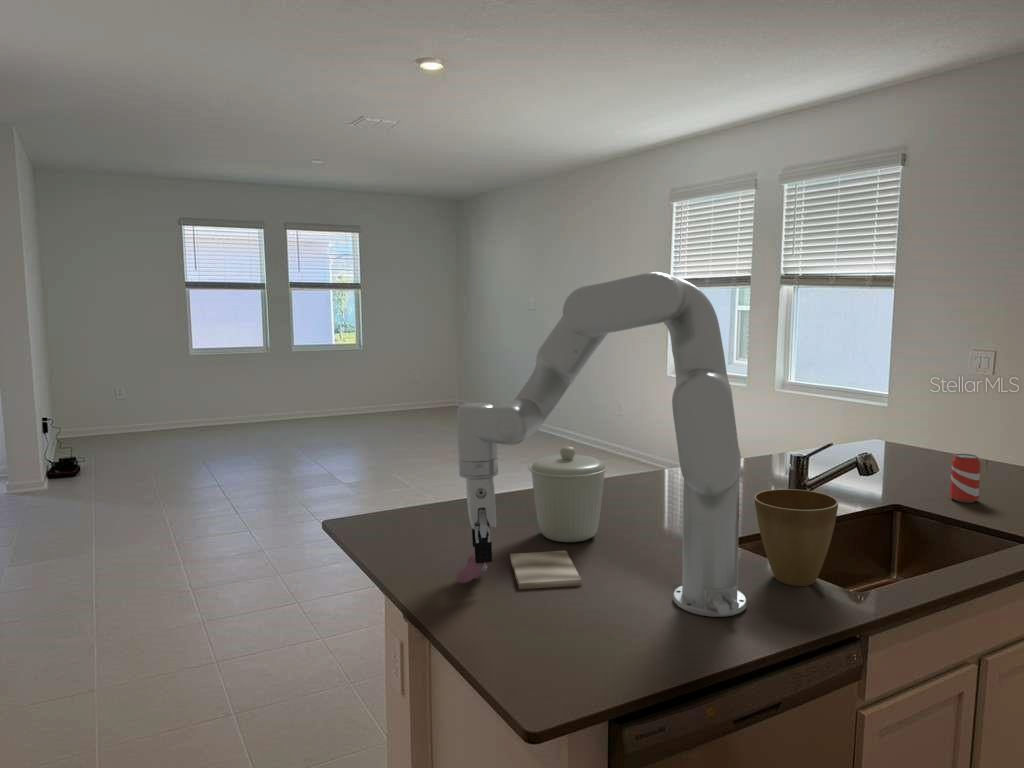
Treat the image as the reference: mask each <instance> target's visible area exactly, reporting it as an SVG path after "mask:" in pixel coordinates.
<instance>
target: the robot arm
mask: <svg viewBox="0 0 1024 768" xmlns="http://www.w3.org/2000/svg"><path fill="white" fill-rule="evenodd" d="M662 323H663V324H664V325H665V326H666V328H667V329H668V332H669V337H670V343H671V352H672V353H671V354H672V356H673V365H674V370H675V372H674V374H675V387H674V390H673V392H672V398H671V400H672V402H671V404H672V405H671V407H672V408H671V409H672V414H673V415H672V416H673V423H674V429H675V439H676V444H677V445H676V446H677V452H678V460H679V467H680V472H681V475H682V478H683V489H682V490H683V492H682V493H683V496H682V497H683V500H682V501H683V502H682V508H683V509H682V513H683V514H682V571H681V572H682V573H681V574H682V575H681V576H682V578H681V579H682V583H681V584H682V585H680V586H678V587H677V588H675V590H673V595H672V596H673V598H672V599H673V601H674V604H676V605H677V606H678V607H679V608H680V609H682V610H684V611H686V612H687V613H688V612H689V613H691V614H695V615H699V616H704V617H712V618H721V617H722V618H723V617H724V618H725V617H730V616H732V617H733V616H735V615H738V614H741V613H743V612H744V610H745V609H746V608H747V602H748V601H747V598H746V596H745V594H743V593H742V592H741V591H740V590H738V588H739V586H738V585H739V584H738V582H739V577H738V576H739V538H740V537H739V531H740V530H739V528H740V527H739V526H740V524H739V523H740V522H739V521H740V487H741V486H740V483H741V481H740V479H741V472H742V471H741V470H742V465H741V464H742V461H741V460H742V459H741V458H742V457H741V450H740V447H739V438H738V432H737V425H736V424H737V423H736V422H737V421H736V415H735V408H734V400H733V391H732V388H731V384H730V381H729V377H728V373H727V365H726V357H725V352H724V351H725V350H724V345H723V342H722V341H723V339H722V334H721V333H722V332H721V328H720V323H719V319H718V316H717V312H716V311H715V308H714V306H713V304H712V303H711V301H710V299H709V298H708V297H707V296H706V293H704V292H703V291H702V290H701V289H699V288H698V287H697V286H696V285H694V284H693V283H691V282H689V281H687V280H685V279H682V278H679V277H678V276H674V275H671V274H669V273H666V272H661V271H649V272H646V273H641V274H636V275H632V276H627V277H623V278H620V279H618V278H617V279H614V280H610V281H606V282H600V283H595V284H589V285H584V286H580V287H578V288H576V289H574V290H573V291H571V293H569V294H568V296H567V297H566V299H565V300H564V303H563V307H562V316H561V318H560V319H559V320H558V321H557V323H556V324H555V326H554V327H553V329H552V330H551V331H550V333H549V334H548V335H547V337H546V338H545V340H544V341H543V343H542V344H541V346H540V347H539V349H538V351H537V352H536V361H535V366H534V370H533V371H532V373H531V375H530V376H529V378H528V380H527V381H526V383H525V384H524V386H523V387H522V389H521V390H520V391H519V393H517V396H515V398H514V399H513V400H512V401H510V402H508V403H506V404H504V405H503V404H502V405H500V406H494V405H493V404H491V403H488V402H469V403H463V404H461V405H459V407H458V408H457V411H456V427H457V428H456V429H457V432H456V433H457V449H458V450H457V451H458V471H459V477H460V478H463V479H465V486H466V487H465V488H466V490H465V491H466V502H467V511H468V518H469V522H470V526H471V541H472V547H473V548H474V551H475V562H476V563H486V564H487V563H492V562H493V552H492V547H493V545H492V544H493V543H492V540H491V531H490V530H491V529H490V528H493V529H495V528H496V527H497V513H496V512H497V511H496V491H495V490H496V489H495V482H494V477H495V476H498V475H499V459H498V456H499V455H498V444H499V445H502V446H503V445H504V446H514V445H519V444H521V443H523V442H524V441H525V440H527V439H528V438H529V437H531V436H532V435H534V434H535V433H536V432H538V430H539V429H540V428H541V427H542V426H543V424H544V423H545V421H546V420H547V419H548V417H549V416H550V415H551V414H552V412H553V410H554V409H555V408H556V406H557V405H558V404H559V403H560V401H561V399H562V398H563V396H564V395H565V394H566V392H567V390H568V389H569V388H570V387H571V385H572V384H573V382H574V381H575V380H576V378H577V376H578V375H579V374H580V372H581V371H582V370H583V368H584V367H585V366H586V363H587V362H588V360H589V359H590V358H591V357H592V355H593V354H594V352H595V351H596V350H597V348H598V347H599V346H600V345H601V344H602V342H603V341H604V340H605V338H606V337H607V335H608V334H610V333H616V332H622V331H627V330H632V329H637V328H640V327H641V328H642V327H647V326H652V325H659V324H662Z"/></svg>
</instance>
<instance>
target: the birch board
mask: <svg viewBox="0 0 1024 768" xmlns="http://www.w3.org/2000/svg"><path fill="white" fill-rule="evenodd" d="M509 558H510V559H509V560H510V562H511V566H512V570H513V573H515V574H514V576H515V579H516V583H517V586H518V589H519V590H530V589H545V588H546V589H547V588H548V589H549V588H562V587H579V586H582V578H581V576H580V574H579V572H578V570H577V569H576V566H575V565H574V563H573V561H572V559H571V557H570V556H569V554H568V552H567V550H551V551H536V552H532V551H531V552H515V553H509Z"/></svg>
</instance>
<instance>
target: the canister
mask: <svg viewBox="0 0 1024 768" xmlns="http://www.w3.org/2000/svg"><path fill="white" fill-rule="evenodd" d="M528 470H529V471H530V473H531V480H532V487H533V496H534V504H535V511H536V517H537V524H538V527H539V528H538V529H539V530H540V532H541V534H542V535H543V537H545V538H546V539H548V540H551V541H555V542H559V543H560V542H561V543H578V542H579V543H580V542H584V541H587V540H590V539H591V538H593V537H594V536H595V534H597V531H598V529H599V523H600V517H601V508H602V499H603V492H604V483H605V473H606V472H607V470H608V465H607V464H606V463H604V462H603V461H601V460H599V459H598V458H596V457H592V456H590V455H582V454H576V450H575V448H574V447H572V446H568V445H567V446H566V445H565V446H563V447H561V449H560V450H559V454H554V455H548V456H543V457H541V458H537V459H536V460H535V461H533V462H532V463H530V464H528Z"/></svg>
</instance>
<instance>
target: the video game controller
mask: <svg viewBox="0 0 1024 768" xmlns="http://www.w3.org/2000/svg"><path fill="white" fill-rule="evenodd" d="M493 551H494V547H493V546H492V553H493ZM466 563H467V565H466V566H464V567H463V568H462V569H461V570H460V571H458V573H457V574H456V577H455V579H456V582H457V583H459V584H465V583H468V582H470V581H472V580H473V579H476V580H478V578H479V577H480V575H481V574H482V573H483V572H486V571H487V569H488V565H487V563H476V562H475V550H474V551H473V553H472V554H471V555H470V556H469V557H468V559H467V561H466Z"/></svg>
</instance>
